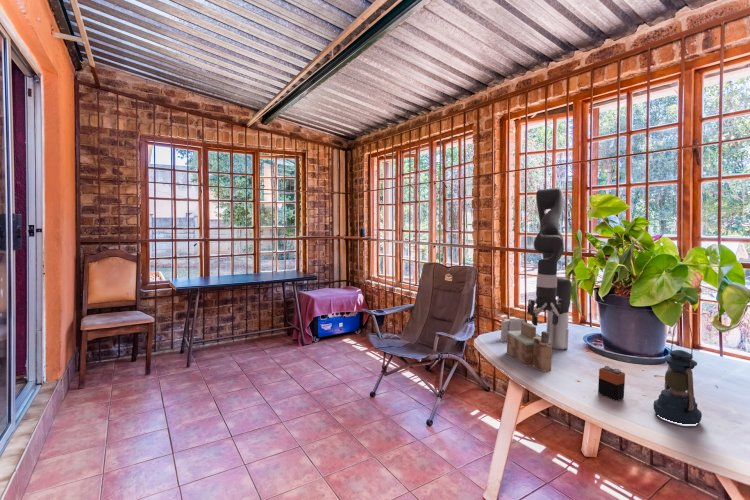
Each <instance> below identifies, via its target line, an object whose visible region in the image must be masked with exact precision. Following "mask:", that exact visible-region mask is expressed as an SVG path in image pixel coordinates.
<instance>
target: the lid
mask: <svg viewBox="0 0 750 500" xmlns="http://www.w3.org/2000/svg"><path fill="white" fill-rule="evenodd" d="M507 334H509V335H511V336H512V337H514V338H516V339H517V340H519V341H520V342H522V343H524V344H525V345H534V340H533V337H539V338H541V335H540V334H538V333H537V326H535V325H533V324H531V323H528V322H527V323H526V322H521V331H507ZM548 344H551V341H549V343H548Z"/></svg>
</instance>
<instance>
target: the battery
mask: <svg viewBox="0 0 750 500" xmlns="http://www.w3.org/2000/svg"><path fill="white" fill-rule="evenodd" d="M625 383H626V373H625V372H623V371H621V369H619V368H612V367H610V366H608V365H605V366H604V367H602V368H601V367H600V368H599V369H598V385H597V386H598V388H597V394H599V395H601V394H602V395H601V396H604V397H606V396H607V397H606V398H608V397H609V399H611V398H612V399H611V400H613V399H614V400H613V401H615V400H617V401H619V399H620V400H623V399H624V397H625ZM622 398H623V399H622Z"/></svg>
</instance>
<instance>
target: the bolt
mask: <svg viewBox="0 0 750 500" xmlns="http://www.w3.org/2000/svg"><path fill="white" fill-rule="evenodd" d="M540 336H541V338H539V337H533V340H534V339H535V338H537V339H538V343H540V344H541V345H543V346H544V345H548V343H549V332H547V331H545V330H543V331H541V335H540Z"/></svg>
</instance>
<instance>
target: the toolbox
mask: <svg viewBox="0 0 750 500" xmlns="http://www.w3.org/2000/svg"><path fill="white" fill-rule="evenodd" d="M550 345H551V344H548V345H544V346H543V345H541V344H540V343H538V339H537V338H535V339H534V345H525V344H524V343H522V342H520V341H519V340H517V339H516V338H514V337H512V336H511V335H509V334H507V341H506V354H508V355H509V356H511V357H512V358H514V359H515V360H516V361H518V362H519V363H520V364H522V365H523V366H524V367H532V366H533V367H534V368H536V369H537V370H538V371H540V372H549V371H552V354H553V353H552V352H553V348H552V346H550Z"/></svg>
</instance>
